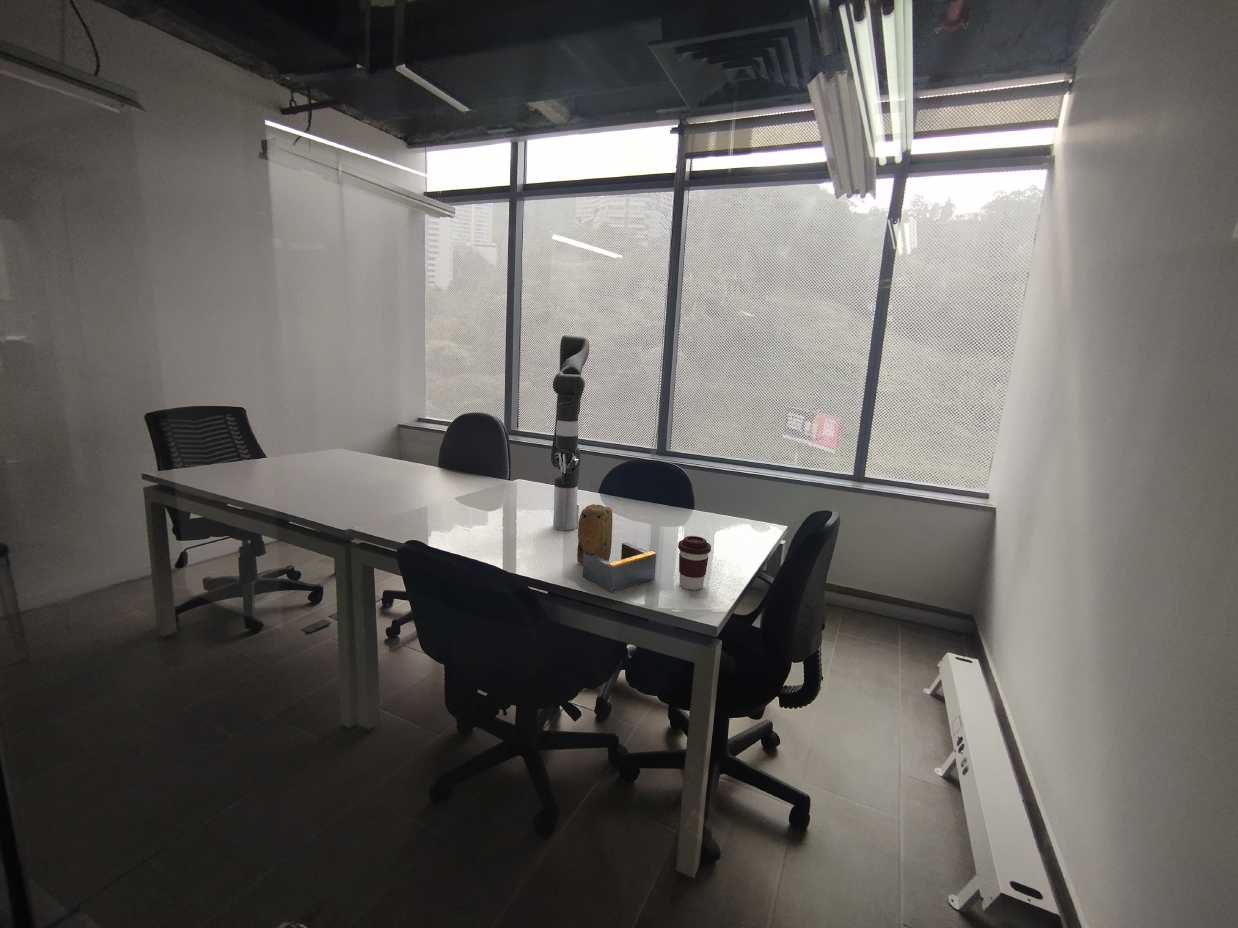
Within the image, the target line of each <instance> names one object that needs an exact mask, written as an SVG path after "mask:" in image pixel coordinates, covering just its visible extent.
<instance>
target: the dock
mask: <svg viewBox="0 0 1238 928" xmlns="http://www.w3.org/2000/svg"><path fill="white" fill-rule="evenodd" d="M620 551H621V554H620V555H621V556H620V559H619V560H616V561H610V560H609V561H607V560H605V559H603V558H601V557H599V556H597V555H595V554H593V553H591V552H585V553H583V564H582V576H581V577H582V578H584V579H585V580H587V581H588V582H591V583H593V584H594V585H596V586H599V587H600V588H602V589H603V590H605V591H607V592H609V593H610V592H611V594H613V593H616V592H619V591H623V590H625V589H628V588H632V587H634V586H637V585H640V584H644V583H646V582H650V581H652V580H655V579H656V564H657V552H654V551H652V550H651V551H648V550H646V549H643V548H641V547H639V546H636V545H634V544H632V543H630V542H627V541H626V542H622V543H621V550H620ZM615 591H616V592H615Z"/></svg>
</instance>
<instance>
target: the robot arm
mask: <svg viewBox="0 0 1238 928" xmlns="http://www.w3.org/2000/svg"><path fill="white" fill-rule="evenodd" d="M589 353H590V341H589V338H587V337H585V336H580V335H570V334H569V335H568V334H566V335H563V336H562V337H561V339H560V344H559V369H558V370H559V371H558V372H557V373H556V374H555V376H554V377H553V380H552V390H553V392H554V393H556V395H557V397H556V408H555V409H556V410H555V412H556V413H555V422H554V423H555V425H554V431H553V440H552V445H551V450H550V451H551V452H550V462H551V465H552V466H553V467H554V468H557V470H558V471H560V473H561V476H557V477H555V479H554V490H553V516H552V519H553V520H552V527H553V529H555V530H557V531H573V530H575V529H576V528H578V525H579V524H578V523H579V518H580V514H579V513H580V512H579V511H580V504H579V503H578V491H579V490H578V488H579V486H578V485H579V480H580V473H581V471H580V470H581V459H582V455H581V450H580V448H579V415H580V412H581V401H582V396H583V395H584V394H583V393H584V390H585V386H586V382H585V379H584V377H583V376H582V372H583V367H584V366H585V365H586V363H587V360H588V358H589V355H590V354H589Z"/></svg>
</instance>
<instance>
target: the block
mask: <svg viewBox="0 0 1238 928" xmlns="http://www.w3.org/2000/svg"><path fill="white" fill-rule="evenodd" d="M612 542H613V509H612V508H611V507H610V506H604V505H601V504H593V503H592V504H589V505H587V506H585V508H583V509H582V511H581V512H580V514H579V518H578V527H577V552H576V553H577V555H576V558H577V559H576V560H577V563H578V564H580V565H583V553H585V552H591V553H593V554H595V555H597V556H599V557H601V558H603V559H605V560H607V561H609V562H610V557H611V552H612Z"/></svg>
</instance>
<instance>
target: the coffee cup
mask: <svg viewBox="0 0 1238 928" xmlns="http://www.w3.org/2000/svg"><path fill="white" fill-rule="evenodd" d="M677 548H678V550H679V554H678V573H679V585H680V586H681V587H682V588H684V589H686V590H693V591H695V590H696V591H697V590H700V589H702V588H703V586H704V582H705V576H706V574H707V568H708V563H709V562H708V561H709V553H711V551H712V550H711V549H712V545H711V543H709V542H707V539H705V538H704V537H701V536H697V535H689V536H685V537H684V538H683V539H681V540H679V541H678V545H677Z"/></svg>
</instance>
